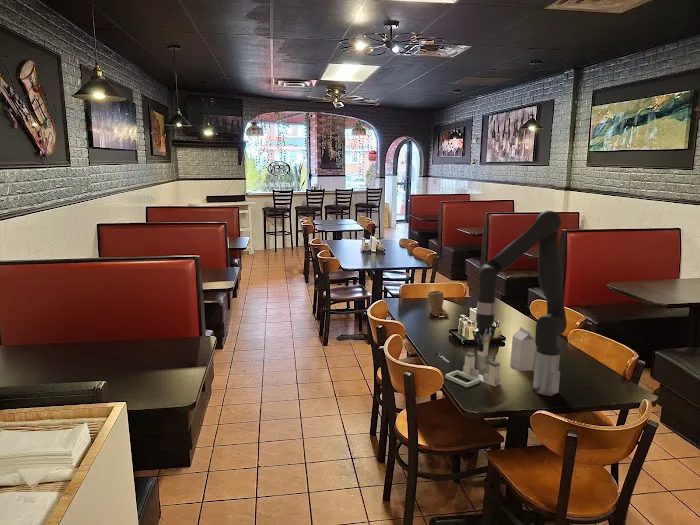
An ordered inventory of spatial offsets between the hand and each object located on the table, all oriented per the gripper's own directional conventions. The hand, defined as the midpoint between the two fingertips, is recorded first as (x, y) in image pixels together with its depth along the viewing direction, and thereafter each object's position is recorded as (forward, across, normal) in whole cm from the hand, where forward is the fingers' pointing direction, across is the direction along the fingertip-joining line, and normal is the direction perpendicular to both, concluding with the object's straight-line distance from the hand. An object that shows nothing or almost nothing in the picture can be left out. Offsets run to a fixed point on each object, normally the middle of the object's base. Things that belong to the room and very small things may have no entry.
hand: (483, 350), depth 220 cm
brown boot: (+13, +59, +79) cm, 100 cm away
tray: (+14, -9, +4) cm, 17 cm away
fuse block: (+14, 0, +1) cm, 14 cm away
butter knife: (+14, +5, +22) cm, 27 cm away
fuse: (+2, 0, 0) cm, 2 cm away
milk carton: (+14, +27, -2) cm, 31 cm away
